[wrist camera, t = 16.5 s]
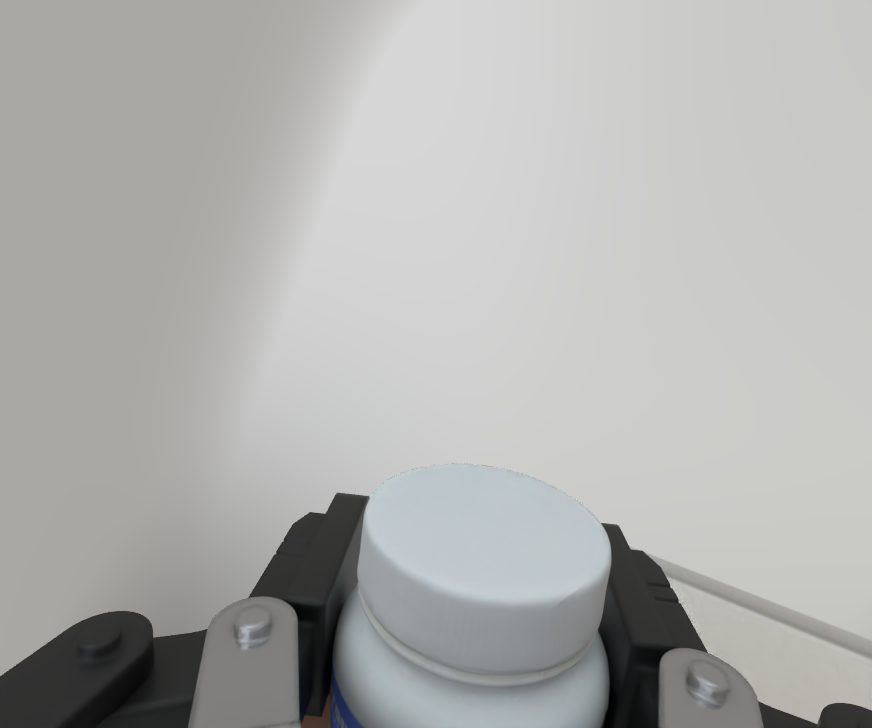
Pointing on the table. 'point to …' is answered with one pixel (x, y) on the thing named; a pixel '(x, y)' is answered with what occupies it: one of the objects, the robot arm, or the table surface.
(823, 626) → the table surface
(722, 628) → the table surface
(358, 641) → the pill bottle
